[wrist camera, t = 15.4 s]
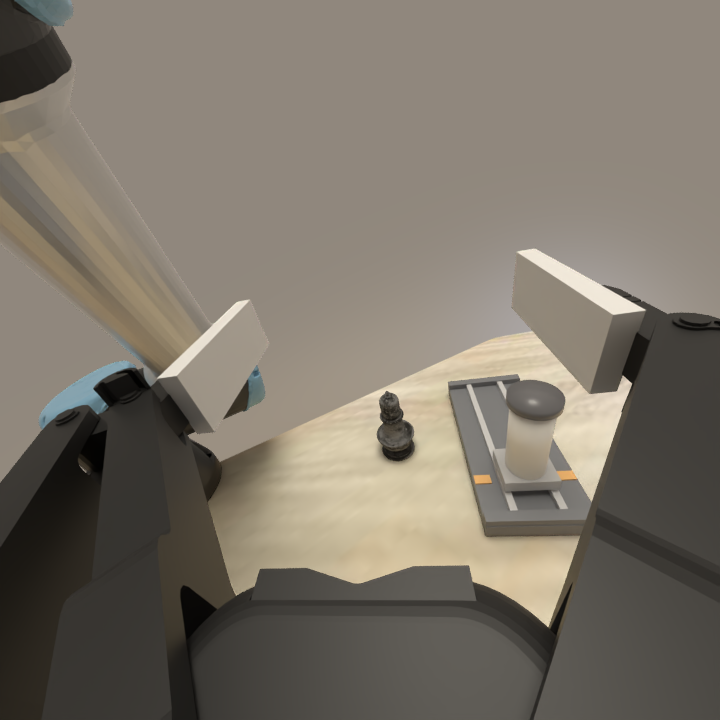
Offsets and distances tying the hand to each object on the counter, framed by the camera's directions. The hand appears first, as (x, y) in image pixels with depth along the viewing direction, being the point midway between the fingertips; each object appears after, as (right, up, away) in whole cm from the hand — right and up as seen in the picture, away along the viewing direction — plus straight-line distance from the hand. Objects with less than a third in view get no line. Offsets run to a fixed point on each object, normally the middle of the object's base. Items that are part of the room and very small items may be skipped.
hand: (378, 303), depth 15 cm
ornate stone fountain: (+5, -17, +33) cm, 38 cm away
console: (+21, -16, +29) cm, 39 cm away
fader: (+20, -17, +22) cm, 34 cm away
